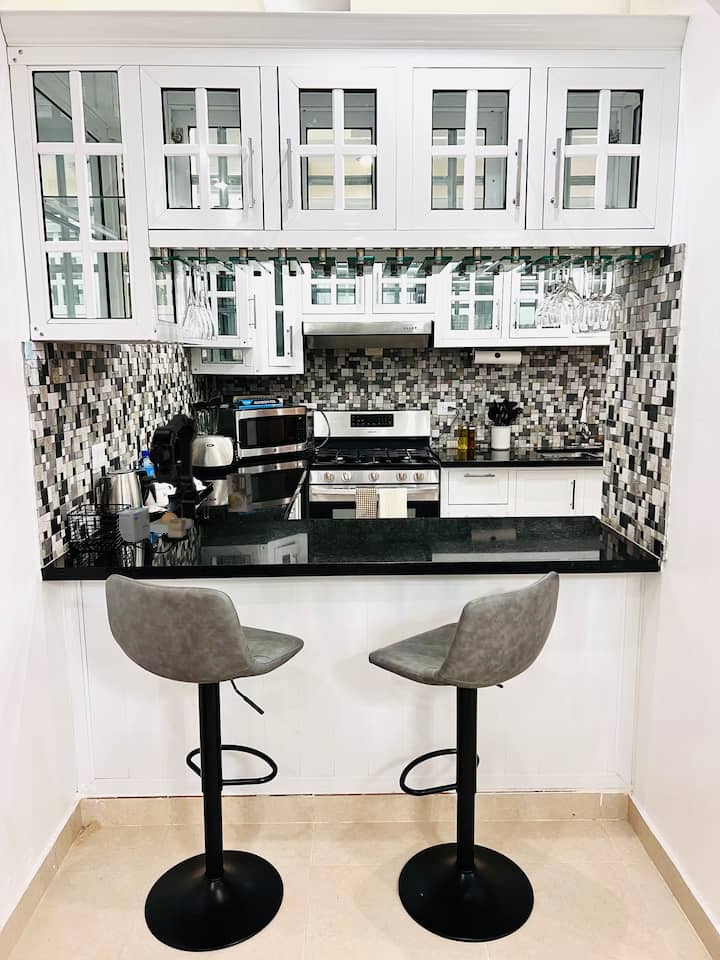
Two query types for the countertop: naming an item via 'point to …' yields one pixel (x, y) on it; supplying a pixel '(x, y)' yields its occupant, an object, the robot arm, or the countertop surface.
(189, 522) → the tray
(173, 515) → the ball
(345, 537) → the countertop surface
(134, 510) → the light bulb box
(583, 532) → the countertop surface
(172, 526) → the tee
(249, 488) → the coffee box
